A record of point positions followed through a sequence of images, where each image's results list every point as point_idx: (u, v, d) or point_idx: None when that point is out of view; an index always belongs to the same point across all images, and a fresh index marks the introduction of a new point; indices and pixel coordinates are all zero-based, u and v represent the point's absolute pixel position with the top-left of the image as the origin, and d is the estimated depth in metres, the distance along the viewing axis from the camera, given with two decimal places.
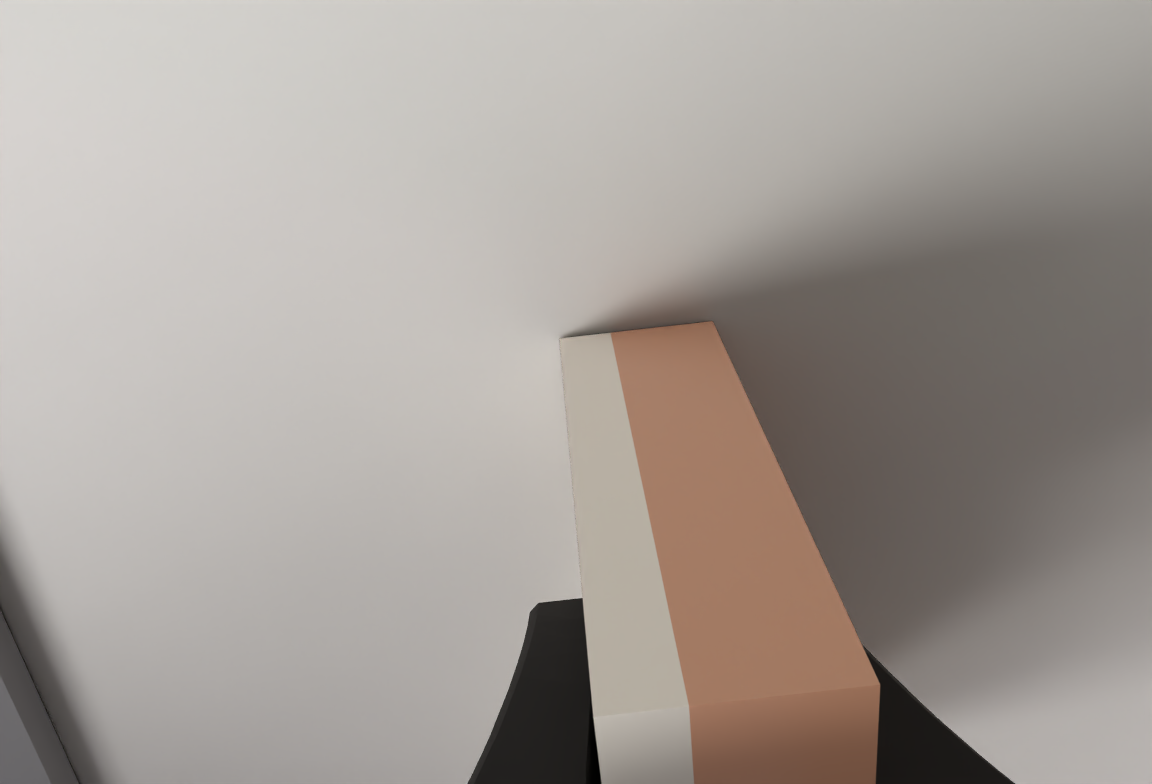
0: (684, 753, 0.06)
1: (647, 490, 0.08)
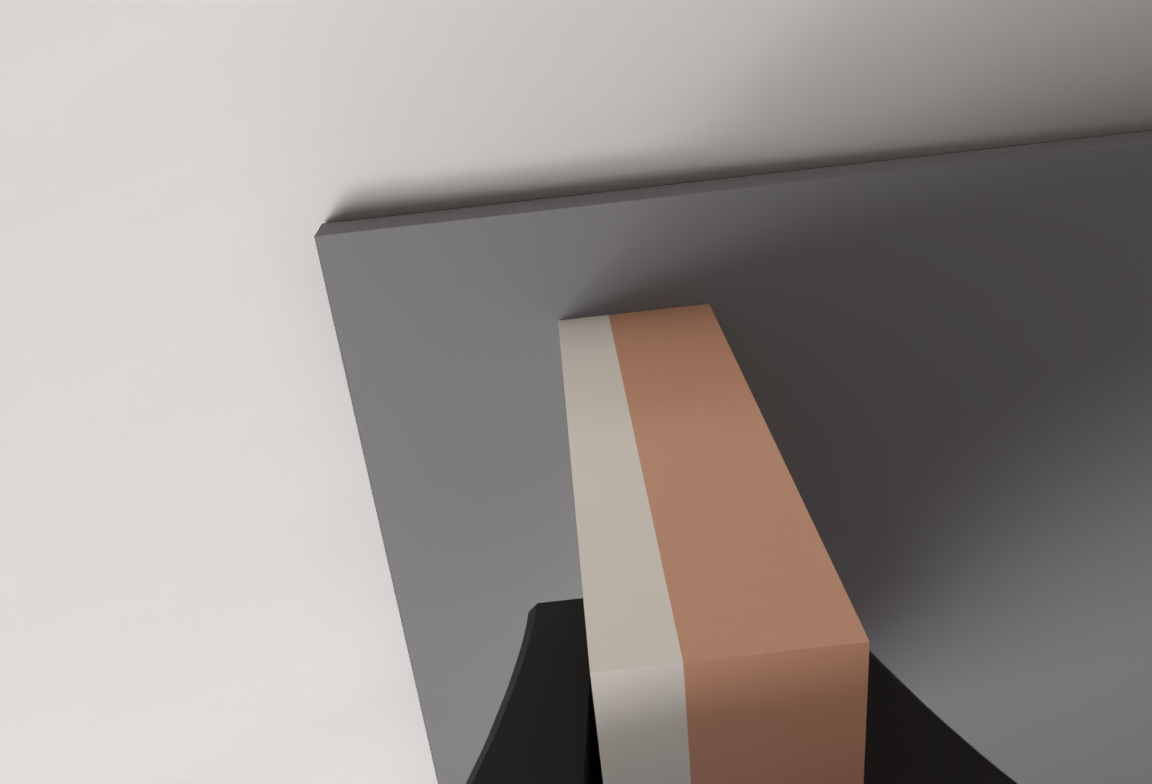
0: (678, 709, 0.07)
1: (644, 462, 0.09)
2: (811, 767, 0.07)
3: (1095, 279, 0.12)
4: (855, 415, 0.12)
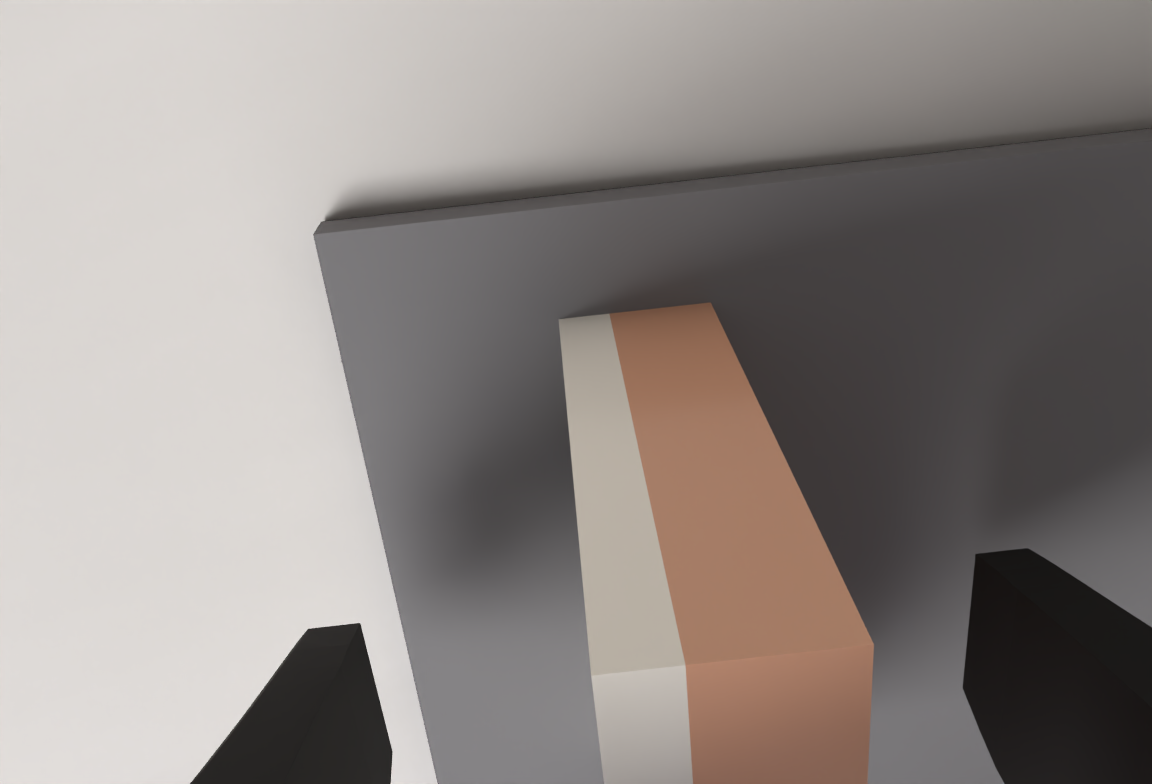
0: (680, 713, 0.06)
1: (645, 462, 0.09)
2: (814, 771, 0.07)
3: (1100, 277, 0.12)
4: (857, 415, 0.12)
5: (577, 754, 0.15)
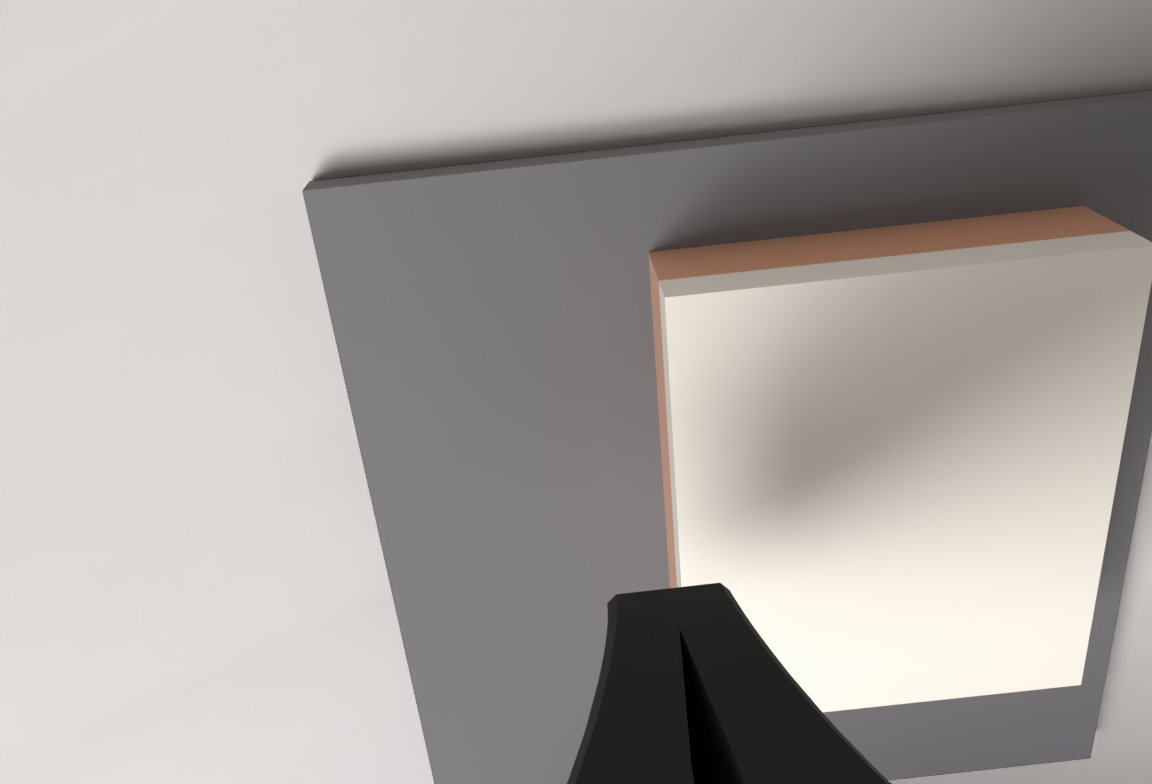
0: None
1: (932, 250, 0.13)
2: None
3: None
4: None
5: (537, 662, 0.17)
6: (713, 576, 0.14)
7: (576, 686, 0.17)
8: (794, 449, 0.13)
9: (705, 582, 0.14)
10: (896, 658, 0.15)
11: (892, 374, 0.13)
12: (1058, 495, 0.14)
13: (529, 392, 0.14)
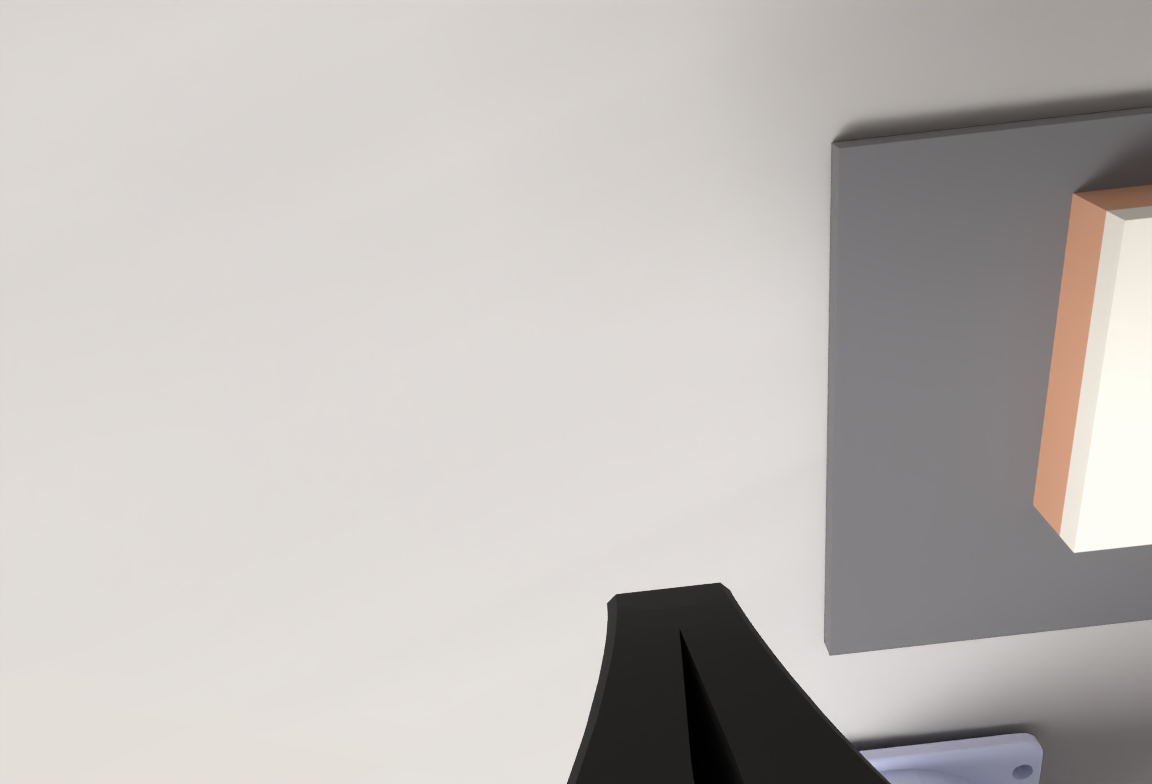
0: None
1: None
2: None
3: None
4: None
5: (928, 515, 0.22)
6: (1116, 431, 0.19)
7: (954, 535, 0.22)
8: None
9: (1108, 436, 0.19)
10: None
11: None
12: None
13: (967, 299, 0.20)
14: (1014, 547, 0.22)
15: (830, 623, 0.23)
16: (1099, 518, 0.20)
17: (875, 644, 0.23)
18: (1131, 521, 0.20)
